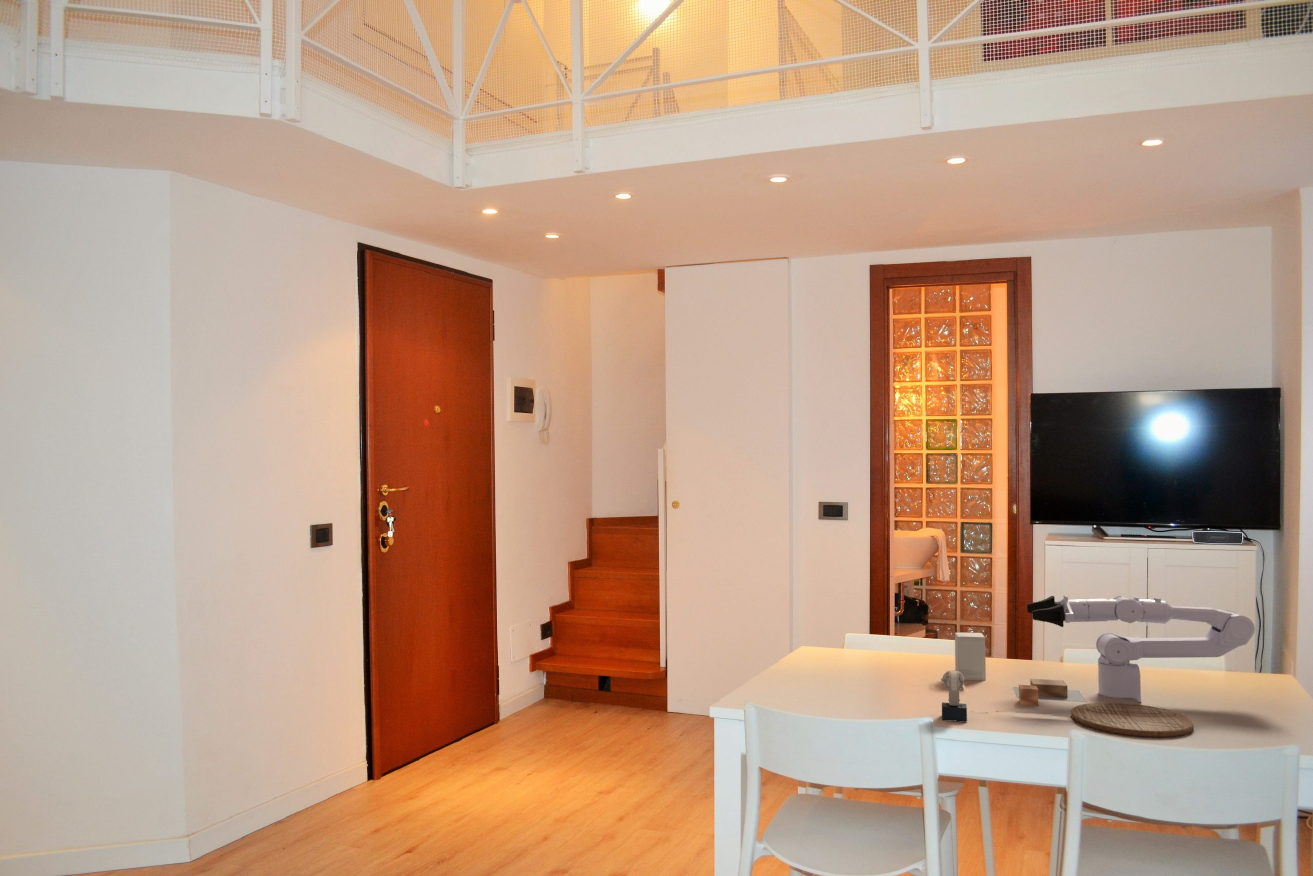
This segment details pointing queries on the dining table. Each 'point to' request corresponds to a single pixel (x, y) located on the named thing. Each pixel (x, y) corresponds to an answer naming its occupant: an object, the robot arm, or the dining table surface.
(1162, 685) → the dining table surface
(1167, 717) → the trivet
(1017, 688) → the plate
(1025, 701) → the terracotta block
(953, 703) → the watch
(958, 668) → the supplement box
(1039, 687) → the brown block
